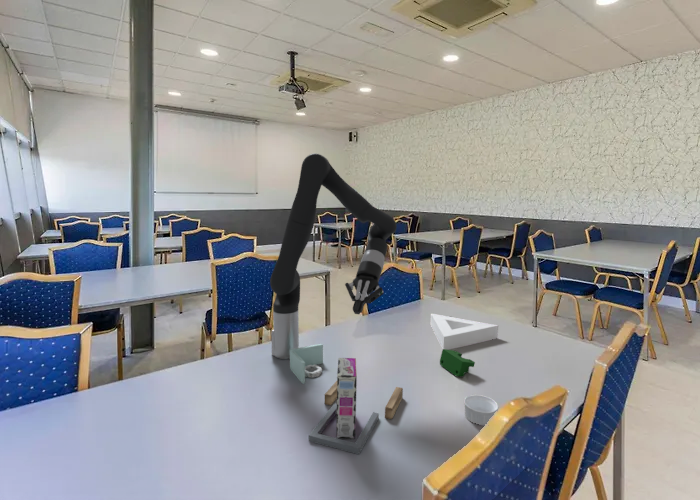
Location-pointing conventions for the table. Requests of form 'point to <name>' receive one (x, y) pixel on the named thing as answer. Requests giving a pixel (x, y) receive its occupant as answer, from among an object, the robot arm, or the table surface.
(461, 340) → the triangle block
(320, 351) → the right angle wall
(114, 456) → the table surface
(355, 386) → the candy bar box
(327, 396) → the oak rails
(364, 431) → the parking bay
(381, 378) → the table surface
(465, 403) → the ramekin
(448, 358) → the clamp
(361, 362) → the table surface
